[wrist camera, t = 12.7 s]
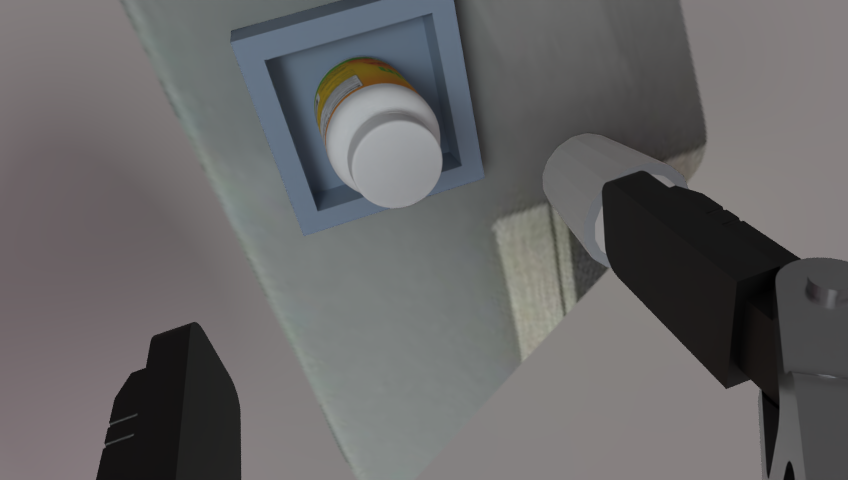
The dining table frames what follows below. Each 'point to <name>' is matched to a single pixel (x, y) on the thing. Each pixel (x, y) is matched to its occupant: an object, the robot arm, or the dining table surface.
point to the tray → (328, 45)
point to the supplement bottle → (378, 132)
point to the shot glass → (594, 183)
